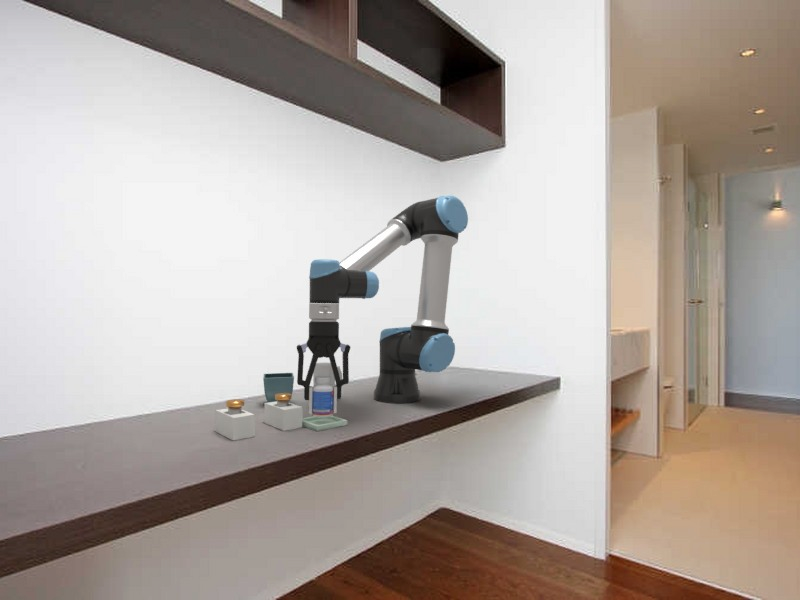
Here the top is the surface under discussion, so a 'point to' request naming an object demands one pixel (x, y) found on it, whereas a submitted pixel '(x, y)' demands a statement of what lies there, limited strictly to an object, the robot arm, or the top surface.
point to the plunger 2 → (283, 399)
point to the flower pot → (277, 385)
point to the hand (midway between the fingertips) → (322, 412)
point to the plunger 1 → (235, 406)
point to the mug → (325, 372)
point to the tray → (323, 422)
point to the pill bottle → (322, 397)
